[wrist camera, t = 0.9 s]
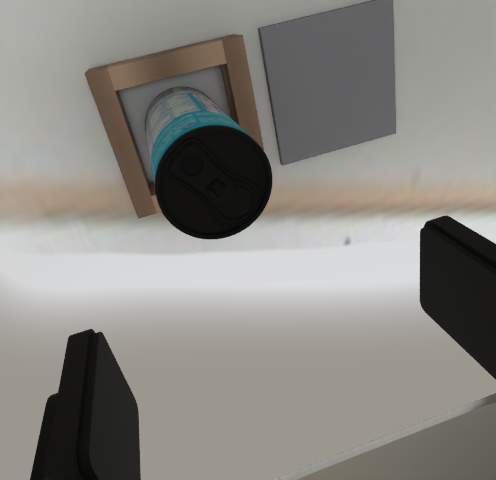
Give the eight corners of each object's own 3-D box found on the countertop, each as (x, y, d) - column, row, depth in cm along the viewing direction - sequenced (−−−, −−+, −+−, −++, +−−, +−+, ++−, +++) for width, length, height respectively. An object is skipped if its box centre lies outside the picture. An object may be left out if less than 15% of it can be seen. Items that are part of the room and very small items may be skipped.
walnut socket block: (233, 34, 32) (242, 35, 29) (259, 169, 37) (269, 180, 35) (88, 69, 30) (84, 73, 28) (137, 204, 36) (138, 218, 33)
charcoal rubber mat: (389, -4, 33) (393, -4, 33) (393, 131, 39) (395, 133, 38) (258, 28, 32) (260, 28, 32) (281, 163, 37) (282, 165, 37)
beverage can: (176, 174, 36) (203, 260, 23) (128, 116, 33) (128, 177, 20) (232, 132, 35) (293, 194, 22) (189, 69, 32) (230, 99, 19)
